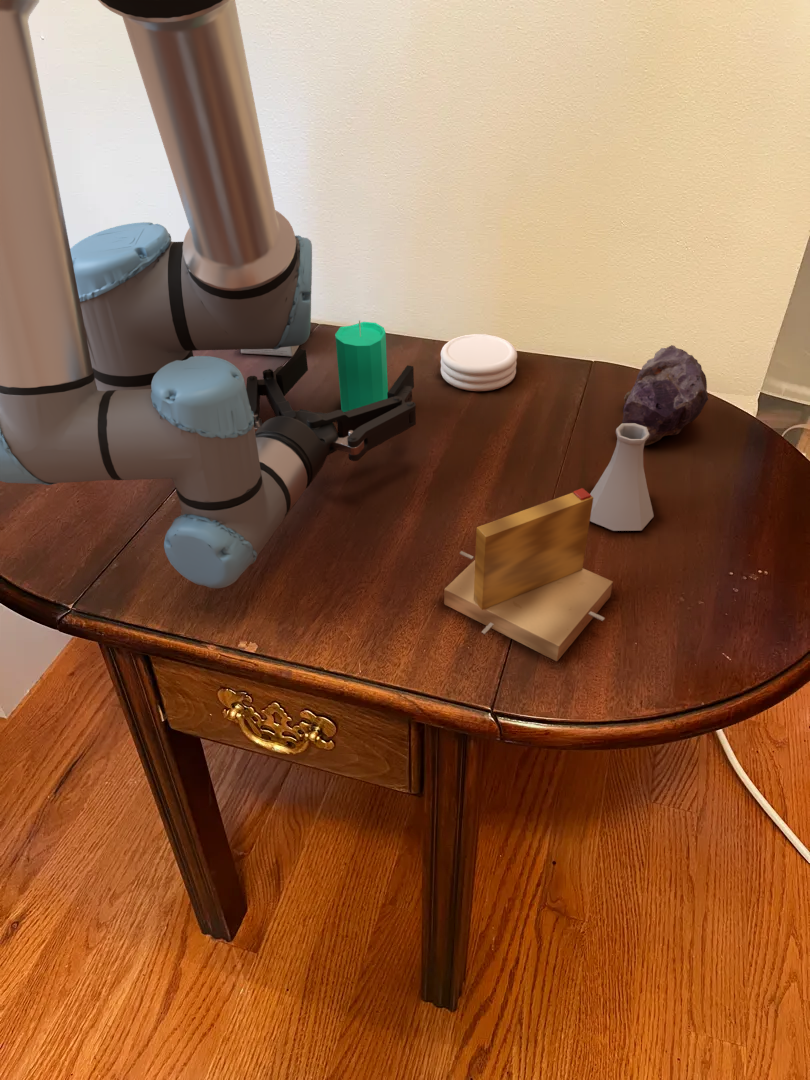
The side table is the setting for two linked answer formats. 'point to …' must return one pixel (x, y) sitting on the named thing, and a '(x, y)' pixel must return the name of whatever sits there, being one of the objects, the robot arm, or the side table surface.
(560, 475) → the side table surface
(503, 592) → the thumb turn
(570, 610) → the plate
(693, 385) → the rock
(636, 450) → the flask
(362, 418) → the robot arm
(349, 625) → the side table surface
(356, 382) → the candle
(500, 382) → the coaster
